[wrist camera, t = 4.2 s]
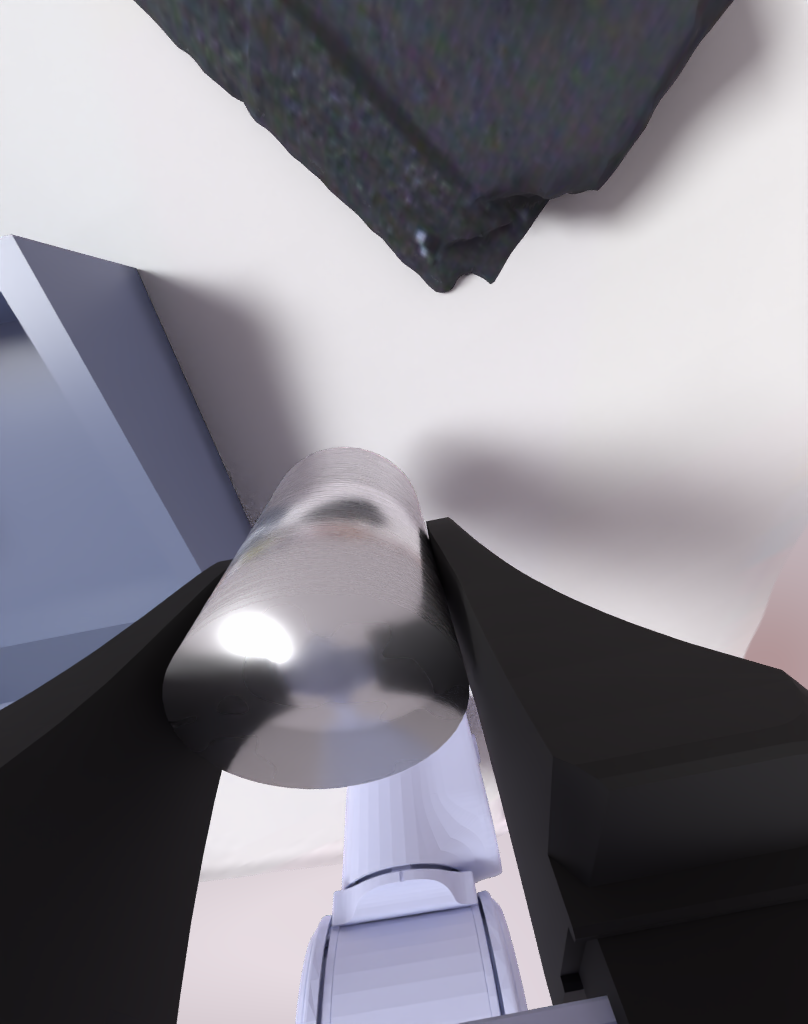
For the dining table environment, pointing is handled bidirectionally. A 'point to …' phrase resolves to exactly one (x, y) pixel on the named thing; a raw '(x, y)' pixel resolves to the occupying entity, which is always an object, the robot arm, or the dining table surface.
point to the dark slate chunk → (446, 103)
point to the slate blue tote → (94, 463)
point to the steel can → (324, 637)
